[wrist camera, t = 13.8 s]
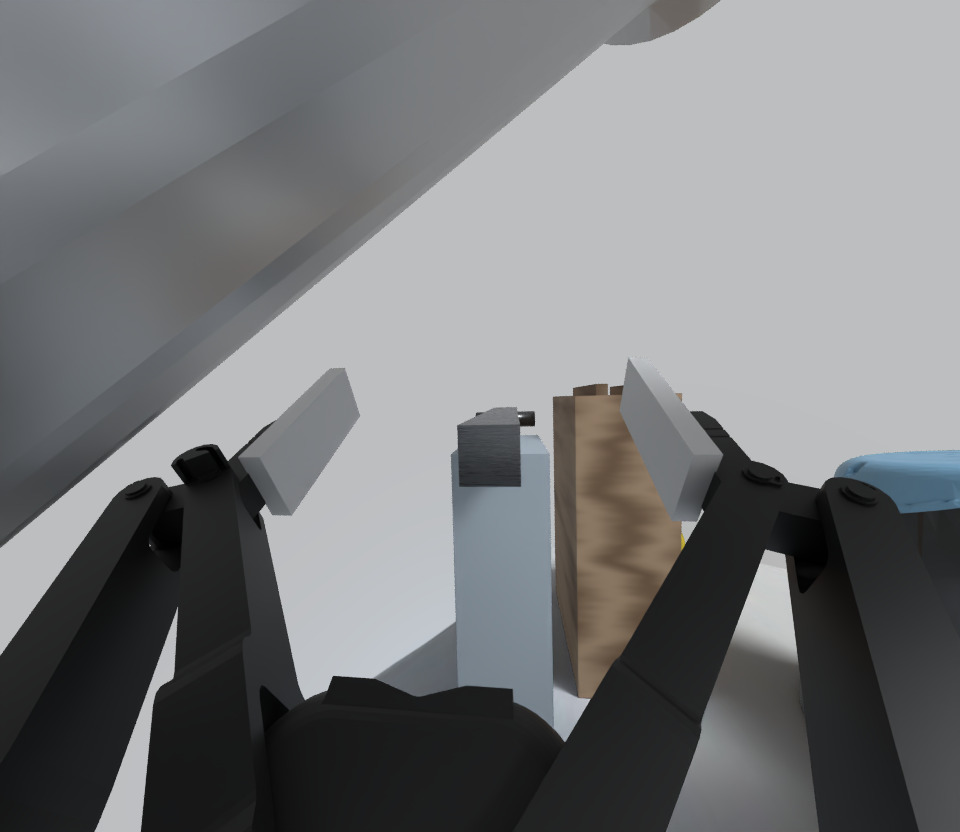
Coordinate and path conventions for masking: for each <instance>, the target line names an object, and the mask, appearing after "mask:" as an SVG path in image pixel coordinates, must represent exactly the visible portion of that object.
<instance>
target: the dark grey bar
mask: <svg viewBox="0 0 960 832" xmlns="http://www.w3.org/2000/svg"><path fill="white" fill-rule="evenodd" d="M520 426H535V413H534V411H527V412H517V407H505V408H493V409H491V410H489V411H486V412H483V413H482V412H480V413H476V417H474V418H472V419H470V420H468V421H466V422H464V423H461V424H459V425H458V426H457V430H458V464H459V487H521V455H520Z"/></svg>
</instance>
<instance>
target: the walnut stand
mask: <svg viewBox="0 0 960 832" xmlns="http://www.w3.org/2000/svg"><path fill="white" fill-rule="evenodd" d="M623 387H624V385H623V386H614V387H610V395H608V384H594V385H588V386H582V387H576V388H573V396H560V397H553V427H554V428H553V430H554V495H555V565H556V593H557V598H558V602H559V607H560V612H561V617H562V621H563V626H564V631H565V635H566V640H567V645H568V650H569V654H570V659H571V664H572V668H573V673H574V678H575V683H576V687H577V692H578V697H579V698H592V696H593V695H594V693H595V691H596V690H597V688H598V686H599V685H600V683H601V681H602V680H603V678H604V676H605V674H606V673H607V671H608V670H609V668H610V666H611V665H612V663H613V662H614V661H615V659H617V658H618V657H620V655H621V654H622V652H623V651H624V649H625V647H626V646H627V644H628V642H629V640H630V639H631V637H632V635H633V633H634V632H635V630H636V628H637V627H638V625H639V623H640V621H641V620H642V618H643V616H644V615H645V613H646V611H647V609H648V608H649V606H650V604H651V603H652V601H653V599H654V597H655V596H656V594H657V592H658V590H659V589H660V587H661V585H662V584H663V582H664V580H665V578H666V577H667V575H668V573H669V572H670V570H671V568H672V566H673V565H674V563H675V561H676V560H677V558H678V556H679V554H680V553H681V521H671V519H670V517H669V515H668V513H667V511H666V508H665V506H664V504H663V502H662V500H661V498H660V496H659V494H658V491H657V489H656V487H655V485H654V483H653V481H652V479H651V477H650V474H649V472H648V470H647V468H646V466H645V464H644V462H643V460H642V457H641V455H640V453H639V451H638V449H637V447H636V445H635V443H634V441H633V438H632V436H631V434H630V432H629V430H628V428H627V426H626V424H625V421H624V419H623V417H622V415H621V413H620V411H619V410H620V404H621V398H622V392H623ZM675 394H676V395H677V396H678V398H679V399H680V400H681V401H682V393H675Z"/></svg>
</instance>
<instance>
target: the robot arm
mask: <svg viewBox="0 0 960 832" xmlns="http://www.w3.org/2000/svg"><path fill="white" fill-rule="evenodd" d="M719 1H720V0H0V548H1V547H2V546H3V545H4V544H6V543H7V542H8V541H9V540H10V539H12V538H13V537H14V536H15V535H16V534H18V533H19V532H20V531H21V530H22V529H23V528H25V527H26V526H27V525H28V524H29V523H31V522H32V521H33V520H34V519H35V518H37V517H38V516H39V515H40V514H41V513H42V512H44V511H45V510H46V509H47V508H49V507H50V506H51V505H52V504H53V503H55V502H56V501H57V500H58V499H59V498H61V497H62V496H63V495H64V494H65V493H67V492H68V491H69V490H70V489H71V488H73V487H74V486H75V485H76V484H77V483H79V482H80V481H81V480H82V479H83V478H85V477H86V476H87V475H88V474H89V473H90V472H92V471H93V470H94V469H95V468H96V467H98V466H99V465H100V464H101V463H102V462H104V461H105V460H106V459H107V458H108V457H110V456H111V455H112V454H113V453H114V452H116V451H117V450H118V449H119V448H120V447H121V446H123V445H124V444H125V443H126V442H128V441H129V440H130V439H131V438H132V437H134V436H135V435H136V434H137V433H138V432H140V431H141V430H142V429H143V428H144V427H146V426H147V425H148V424H149V423H150V422H152V421H153V420H154V419H155V418H156V417H158V416H159V415H160V414H161V413H162V412H164V411H165V410H166V409H167V408H168V407H169V406H171V405H172V404H173V403H174V402H175V401H177V400H178V399H179V398H180V397H181V396H183V395H184V394H185V393H186V392H187V391H188V390H190V389H191V388H192V387H193V386H195V385H196V384H197V383H198V382H199V381H201V380H202V379H203V378H204V377H205V376H207V375H208V374H209V373H210V372H211V371H213V369H215V368H216V367H217V366H218V365H220V364H221V363H222V362H223V361H225V360H226V359H227V358H228V357H229V356H230V355H232V354H233V353H234V352H235V351H236V350H238V349H239V348H240V347H241V346H242V345H244V343H246V342H247V341H248V340H250V339H251V338H252V337H253V336H254V335H256V334H257V333H258V332H259V331H260V330H261V329H263V328H264V327H265V326H266V325H268V324H269V323H270V322H271V321H272V320H274V319H275V318H276V317H277V316H278V315H280V314H281V313H282V312H283V311H284V310H285V309H287V308H288V307H289V306H290V305H291V304H293V303H294V302H295V301H296V300H298V299H299V298H300V297H301V296H302V295H303V294H305V293H306V292H307V291H308V290H309V289H311V288H312V287H313V286H314V285H315V284H317V282H319V281H320V280H321V279H323V278H324V277H325V276H326V275H327V274H328V273H330V272H331V271H332V270H333V269H334V268H336V267H337V266H338V265H339V264H341V263H342V262H343V261H344V260H345V259H346V258H348V257H349V256H350V255H351V254H352V253H354V252H355V251H356V250H357V249H359V248H360V247H361V246H362V245H363V244H364V243H366V242H367V241H368V240H369V239H370V238H372V237H373V236H374V235H375V234H376V233H378V232H379V231H380V230H381V229H382V228H384V227H385V226H386V225H387V224H388V223H390V222H391V221H392V220H393V219H394V218H396V217H397V216H398V215H399V214H400V213H402V212H403V211H404V210H405V209H406V208H408V207H409V206H410V205H411V204H412V203H414V202H415V201H416V200H417V199H418V198H420V197H421V196H422V195H423V194H424V193H426V192H427V191H428V190H429V189H430V188H431V187H433V186H434V185H435V184H436V183H437V182H439V181H440V180H441V179H442V178H443V177H444V176H446V175H447V174H448V173H449V172H451V171H452V170H453V169H454V168H455V167H457V166H458V165H459V164H460V163H461V162H462V161H464V160H465V159H466V158H467V157H468V156H470V155H471V154H472V153H473V152H475V151H476V150H477V149H478V148H479V147H480V146H482V145H483V144H484V143H485V142H487V141H488V140H489V139H490V138H491V137H492V136H494V135H495V134H496V133H497V132H498V131H500V130H501V129H502V128H503V127H504V126H506V125H507V124H508V123H509V122H510V121H512V120H513V119H514V118H515V117H516V116H518V115H519V114H520V113H521V112H522V111H523V110H525V109H526V108H527V107H528V106H529V105H531V104H532V103H533V102H534V101H536V100H537V99H538V98H539V97H540V96H541V95H543V94H544V93H545V92H546V91H548V90H549V89H550V88H551V87H552V86H553V85H555V84H556V83H557V82H558V81H560V80H561V79H562V78H563V77H564V76H565V75H567V74H568V73H569V72H570V71H571V70H573V69H574V68H575V67H576V66H577V65H579V64H580V63H581V62H582V61H583V60H585V59H586V58H587V57H588V56H589V55H590V54H592V53H593V52H594V51H595V50H597V49H598V48H599V47H600V46H601V45H603V44H609V45H632V44H637V43H641V42H646V41H651V40H653V39H656V38H658V37H661V36H663V35H666V34H669V33H671V32H674V31H675V30H677V29H679V28H680V27H682V26H684V25H686V24H687V23H689V22H691V21H692V20H694V19H696V18H698V17H699V16H700V15H702V14H703V13H705V12H706V11H707V10H709V9H710V8H711V7H713V6H714V5H715V4H716V3H718V2H719ZM619 411H620V413H621V415H622V417H623V419H624V421H625V424H626V426H627V428H628V430H629V432H630V434H631V436H632V438H633V441H634V443H635V445H636V447H637V449H638V451H639V453H640V455H641V457H642V460H643V462H644V464H645V466H646V468H647V470H648V472H649V474H650V477H651V479H652V481H653V483H654V485H655V487H656V489H657V491H658V494H659V496H660V498H661V500H662V502H663V504H664V506H665V508H666V511H667V513H668V515H669V517H670V519H671V521H695V522H696V521H697V520H698V517H699V515H700V512H701V509H703V511H704V513H703V515H702V517H701V518H700V520H699V522H698V523H697V525H696V527H695V529H694V530H693V532H692V534H691V536H690V537H689V539H688V541H687V542H686V544H685V546H684V547H683V549H682V551H681V553H680V554H679V556H678V558H677V560H676V561H675V563H674V565H673V566H672V568H671V570H670V572H669V573H668V575H667V577H666V578H665V580H664V582H663V584H662V585H661V587H660V589H659V590H658V592H657V594H656V596H655V597H654V599H653V601H652V603H651V604H650V606H649V608H648V609H647V611H646V613H645V615H644V616H643V618H642V620H641V621H640V623H639V625H638V627H637V628H636V630H635V632H634V633H633V635H632V637H631V639H630V640H629V642H628V644H627V646H626V647H625V649H624V651H623V652H622V654H621V655H620V657H618V658H617V659H615V661H614V662H613V663H612V665H611V666H610V668H609V670H608V671H607V673H606V674H605V676H604V678H603V680H602V681H601V683H600V685H599V686H598V688H597V690H596V691H595V693H594V695H593V696H592V698H591V700H590V702H589V703H588V705H587V707H586V708H585V710H584V712H583V713H582V715H581V717H580V719H579V720H578V722H577V724H576V725H575V727H574V729H573V730H572V732H571V734H570V736H569V737H568V739H567V741H566V742H564V741H563V740H562V738H561V737H560V736H559V735H558V733H557V732H556V731H555V730H554V729H553V728H552V727H551V726H550V725H549V724H548V723H547V722H546V721H545V720H544V719H542V718H541V717H540V716H539V715H537V714H536V713H535V712H533V711H531V710H530V709H528V708H526V707H525V706H522V705H520V704H518V703H515V702H514V699H513V689H509V688H495V687H481V686H467V685H466V686H462V687H458V688H454V689H450V690H446V691H442V692H438V693H434V694H430V695H426V696H421V697H416V696H412V695H410V694H408V693H406V692H403V691H401V690H399V689H397V688H394V687H392V686H390V685H388V684H385V683H383V682H381V681H379V680H376V679H370V678H356V677H355V678H354V677H341V676H333V677H332V680H331V683H330V685H329V688H328V691H325V692H322V693H320V694H317V695H314V696H312V697H310V698H309V699H307V700H304V698H303V695H302V694H301V691H300V688H299V685H298V681H297V677H296V672H295V667H294V662H293V658H292V653H291V648H290V643H289V639H288V634H287V629H286V624H285V620H284V615H283V610H282V605H281V600H280V596H279V591H278V586H277V582H276V577H275V572H274V567H273V563H272V558H271V553H270V548H269V543H268V539H267V534H266V529H265V524H264V520H263V517H262V516H261V514H260V513H259V511H260V510H261V509H262V508H263V506H264V505H265V504H266V505H267V507H268V509H269V510H270V512H271V514H272V515H292V514H293V513H294V511H295V510H296V509H297V507H298V506H299V504H300V503H301V501H302V500H303V498H304V497H305V495H306V494H307V492H308V491H309V490H310V488H311V487H312V485H313V484H314V482H315V481H316V479H317V478H318V476H319V475H320V474H321V472H322V471H323V469H324V468H325V466H326V465H327V463H328V462H329V460H330V459H331V458H332V456H333V455H334V453H335V452H336V450H337V449H338V447H339V446H340V444H341V443H342V441H343V440H344V439H345V437H346V436H347V434H348V433H349V431H350V430H351V428H352V427H353V425H354V424H355V422H356V421H357V420H358V418H359V417H360V414H359V411H358V408H357V405H356V402H355V399H354V396H353V393H352V389H351V386H350V383H349V380H348V377H347V374H346V371H345V368H334V369H329V370H328V371H327V372H326V373H325V374H324V375H323V376H322V377H321V378H320V379H319V380H318V381H317V382H315V383H314V384H313V385H312V386H311V387H310V388H309V389H308V390H307V391H306V392H305V393H304V394H303V395H302V396H301V397H300V398H299V399H298V400H297V401H296V402H295V403H294V404H293V405H292V406H291V407H290V408H288V409H287V410H286V411H285V412H284V414H282V415H281V416H280V417H279V418H278V419H277V420H276V421H274V422H272V423H271V424H269V425H267V426H265V427H264V428H263V429H262V430H260V431H259V432H258V433H257V434H256V435H255V437H253V438H252V439H251V440H250V441H249V442H248V444H246V445H245V446H244V447H243V448H241V449H240V450H239V451H238V452H237V453H236V454H235V455H234V456H233V457H232V458H231V459H230V460H229V461H227V460H226V458H225V457H224V455H223V453H222V452H221V450H220V449H219V447H218V446H217V445H213V444H209V445H202V446H199V447H195V448H193V449H190V450H188V451H186V452H185V453H183V454H181V455H179V456H178V457H177V458H176V459H175V460H174V461H173V463H172V465H171V466H172V468H173V469H174V470H175V472H176V473H177V474H178V476H179V477H180V478H181V480H182V481H183V482H184V484H182V485H177V486H173V487H168V486H167V485H166V484H165V483H164V481H163V480H162V479H161V478H156V477H153V478H147V479H144V480H141V481H136V482H134V483H133V484H130V485H128V486H127V487H126V488H124V489H123V490H122V491H120V492H119V493H118V494H117V495H116V496H115V497H114V498H113V499H112V501H111V502H110V503H109V505H108V506H107V508H106V509H105V510H104V512H103V513H102V515H101V516H100V517H99V519H98V520H97V522H96V523H95V524H94V526H93V527H92V529H91V530H90V531H89V533H88V534H87V536H86V537H85V538H84V540H83V541H82V542H81V544H80V545H79V547H78V548H77V549H76V551H75V552H74V554H73V555H72V556H71V558H70V559H69V561H68V562H67V563H66V565H65V566H64V568H63V569H62V570H61V572H60V573H59V575H58V576H57V577H56V579H55V580H54V582H53V583H52V584H51V586H50V587H49V589H48V590H47V591H46V593H45V594H44V595H43V597H42V598H41V600H40V601H39V602H38V604H37V605H36V607H35V608H34V609H33V611H32V612H31V614H30V615H29V617H28V618H27V619H26V621H25V622H24V624H23V625H22V626H21V628H20V629H19V630H18V632H17V633H16V635H15V636H14V637H13V639H12V640H11V642H10V643H9V644H8V646H7V647H6V649H5V650H4V651H3V653H2V654H1V655H0V832H94V831H95V829H96V827H97V825H98V823H99V820H100V818H101V815H102V813H103V810H104V808H105V805H106V803H107V800H108V798H109V795H110V793H111V791H112V788H113V785H114V782H115V780H116V777H117V774H118V771H119V768H120V766H121V763H122V760H123V757H124V755H125V752H126V749H127V746H128V743H129V741H130V738H131V735H132V732H133V729H134V727H135V724H136V721H137V718H138V716H139V713H140V710H141V707H142V705H143V702H144V699H145V696H146V693H147V691H148V688H149V685H150V682H151V680H152V677H153V674H154V671H155V668H156V666H157V663H158V660H159V657H160V655H161V652H162V649H163V646H164V644H165V641H166V638H167V635H168V632H169V630H170V627H171V624H172V621H173V618H174V616H175V613H176V610H177V607H178V620H177V637H176V655H175V672H174V678H173V679H172V680H171V681H169V682H167V683H166V684H164V685H162V686H161V687H160V688H159V690H158V691H157V693H156V695H155V699H154V704H153V712H152V723H151V733H150V743H149V754H148V764H147V775H146V785H145V795H144V806H143V816H142V826H141V832H666V830H667V827H668V824H669V821H670V819H671V816H672V813H673V810H674V808H675V805H676V802H677V799H678V797H679V794H680V791H681V788H682V786H683V783H684V780H685V777H686V775H687V772H688V769H689V766H690V764H691V761H692V758H693V755H694V753H695V750H696V747H697V744H698V741H699V738H700V733H701V721H702V717H703V714H704V711H705V709H706V706H707V703H708V701H709V698H710V695H711V692H712V690H713V687H714V684H715V682H716V679H717V676H718V674H719V671H720V668H721V666H722V663H723V660H724V658H725V655H726V652H727V650H728V647H729V644H730V642H731V639H732V636H733V634H734V631H735V628H736V626H737V623H738V620H739V618H740V615H741V612H742V610H743V607H744V604H745V601H746V599H747V596H748V593H749V591H750V588H751V585H752V583H753V580H754V577H755V575H756V572H757V569H758V567H759V564H760V561H761V559H762V556H763V553H764V551H765V549H767V550H770V551H774V552H778V553H782V554H785V557H786V564H787V573H788V581H789V589H790V597H791V606H792V614H793V622H794V630H795V638H796V646H797V654H798V662H799V671H800V680H799V699H800V704H801V707H802V709H803V712H804V714H805V719H806V727H807V736H808V744H809V752H810V760H811V768H812V776H813V784H814V792H815V801H816V809H817V817H818V825H819V832H960V450H948V451H915V452H897V453H896V452H895V453H883V454H872V455H865V456H859V457H856V458H852V459H850V460H847V461H845V462H844V463H842V464H841V465H840V466H839V467H838V469H837V470H836V472H835V475H834V478H830V479H828V480H827V481H825V483H824V484H823V486H822V488H821V489H819V488H813V487H808V486H803V485H798V484H793V483H789V482H788V481H787V479H786V478H785V477H784V475H783V474H781V473H780V472H779V471H777V470H776V469H775V468H772V467H770V466H768V465H765V464H763V463H759V462H755V461H751V460H750V458H749V457H748V456H747V455H746V454H745V453H744V452H743V450H742V449H741V448H740V447H739V446H738V445H737V443H736V442H735V441H734V440H733V439H732V438H731V437H729V434H728V433H727V432H726V431H725V430H723V428H722V426H721V425H720V424H719V423H718V422H717V421H716V419H714V418H713V417H711V416H709V415H708V414H706V413H704V412H703V411H699V412H698V411H692V412H689V410H688V409H687V408H686V406H685V405H684V404H683V403H682V401H681V400H680V399H679V398H678V396H677V395H676V394H675V393H674V391H673V390H672V389H671V387H670V386H669V385H668V383H667V382H666V381H665V380H664V379H663V377H662V376H661V375H660V374H659V372H658V371H657V369H656V368H655V367H654V366H653V364H652V363H651V362H650V361H649V360H648V358H647V357H632V358H628V363H627V369H626V375H625V381H624V387H623V392H622V398H621V404H620V410H619ZM149 544H150V545H151V546H149Z"/></svg>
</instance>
